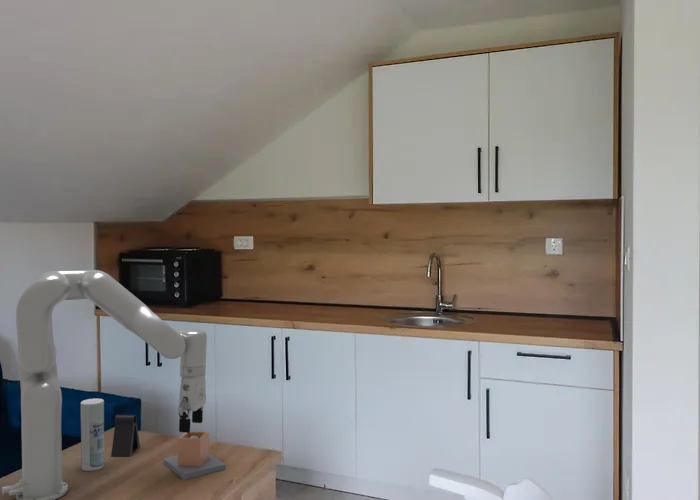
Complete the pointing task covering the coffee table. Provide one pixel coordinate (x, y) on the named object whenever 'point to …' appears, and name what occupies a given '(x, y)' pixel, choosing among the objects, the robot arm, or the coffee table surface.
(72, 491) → the coffee table surface
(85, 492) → the coffee table surface
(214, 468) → the peg on grey base
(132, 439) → the phone stand
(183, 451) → the sleeve
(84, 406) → the spray can
